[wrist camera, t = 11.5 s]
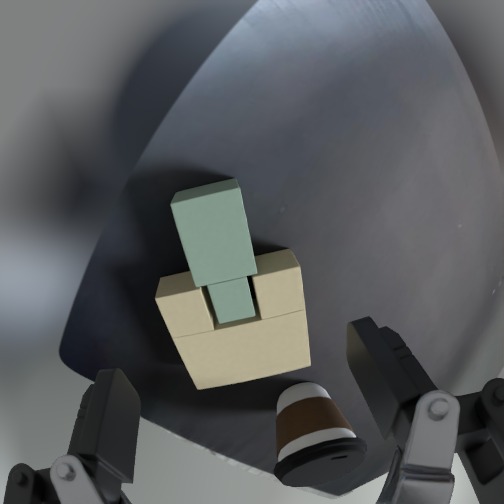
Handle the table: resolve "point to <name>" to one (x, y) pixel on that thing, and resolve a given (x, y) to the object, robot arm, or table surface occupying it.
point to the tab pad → (217, 245)
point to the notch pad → (239, 325)
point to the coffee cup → (313, 438)
